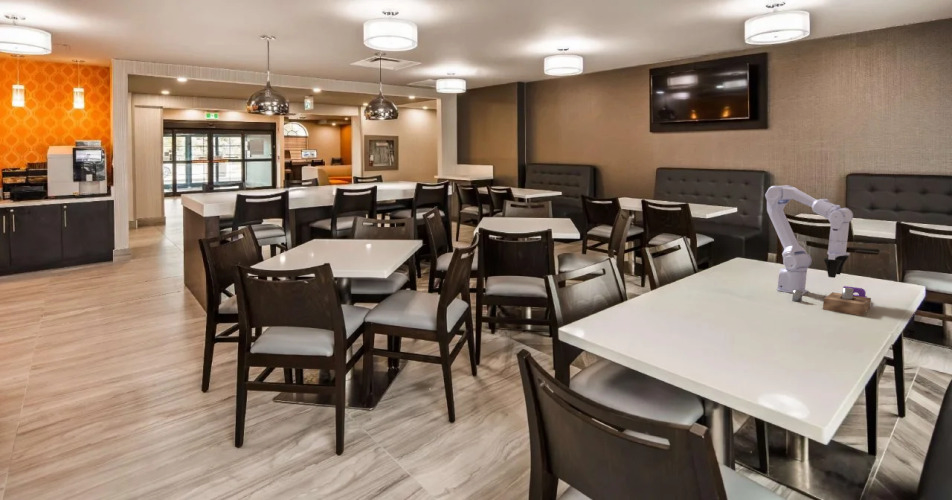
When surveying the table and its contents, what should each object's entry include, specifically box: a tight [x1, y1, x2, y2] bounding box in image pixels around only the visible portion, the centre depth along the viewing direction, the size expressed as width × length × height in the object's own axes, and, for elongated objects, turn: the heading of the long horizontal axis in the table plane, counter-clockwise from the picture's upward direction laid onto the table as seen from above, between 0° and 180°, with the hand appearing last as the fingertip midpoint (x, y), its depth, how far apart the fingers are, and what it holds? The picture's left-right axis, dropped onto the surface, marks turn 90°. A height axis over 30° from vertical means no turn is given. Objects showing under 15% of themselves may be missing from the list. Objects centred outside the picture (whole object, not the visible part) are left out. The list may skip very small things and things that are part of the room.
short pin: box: [791, 290, 804, 303], centre depth 210 cm, size 3×3×4 cm
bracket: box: [842, 285, 868, 297], centre depth 207 cm, size 12×7×7 cm, turn 140°
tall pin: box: [841, 287, 854, 300], centre depth 198 cm, size 3×3×8 cm
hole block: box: [822, 292, 872, 317], centre depth 198 cm, size 12×12×4 cm
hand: (834, 275), depth 210 cm, fingers open, 7 cm apart
